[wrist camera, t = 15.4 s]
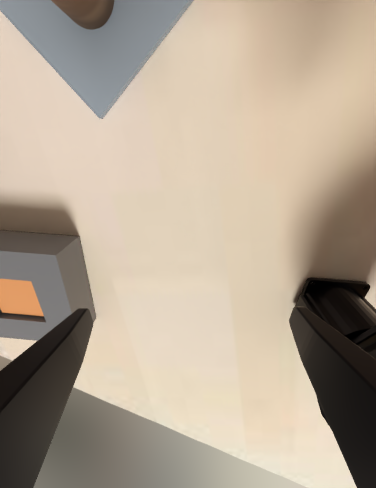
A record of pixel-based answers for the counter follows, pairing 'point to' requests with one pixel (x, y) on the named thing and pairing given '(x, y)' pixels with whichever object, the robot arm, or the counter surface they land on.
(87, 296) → the grey square block
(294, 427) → the counter surface
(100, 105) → the mat
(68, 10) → the dark-capped brown cylinder
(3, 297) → the button
